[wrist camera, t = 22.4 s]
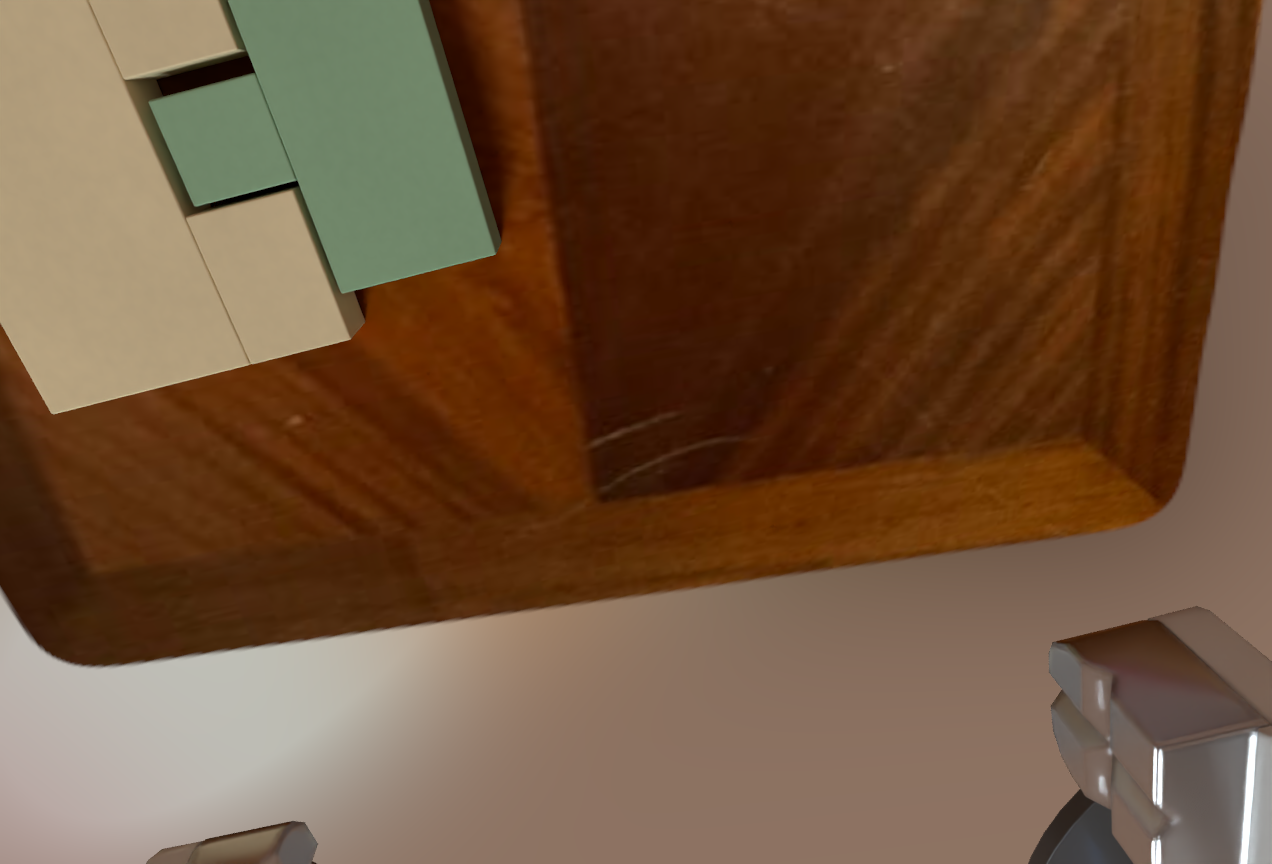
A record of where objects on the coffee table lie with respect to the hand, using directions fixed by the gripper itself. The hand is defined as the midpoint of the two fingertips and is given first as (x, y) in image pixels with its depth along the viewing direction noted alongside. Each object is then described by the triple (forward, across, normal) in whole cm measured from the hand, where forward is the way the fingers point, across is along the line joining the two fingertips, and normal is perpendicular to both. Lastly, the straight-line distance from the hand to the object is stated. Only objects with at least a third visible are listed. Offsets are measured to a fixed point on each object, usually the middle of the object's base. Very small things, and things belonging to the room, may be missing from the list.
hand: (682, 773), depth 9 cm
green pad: (+27, +9, -8) cm, 29 cm away
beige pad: (+27, +16, -8) cm, 32 cm away
